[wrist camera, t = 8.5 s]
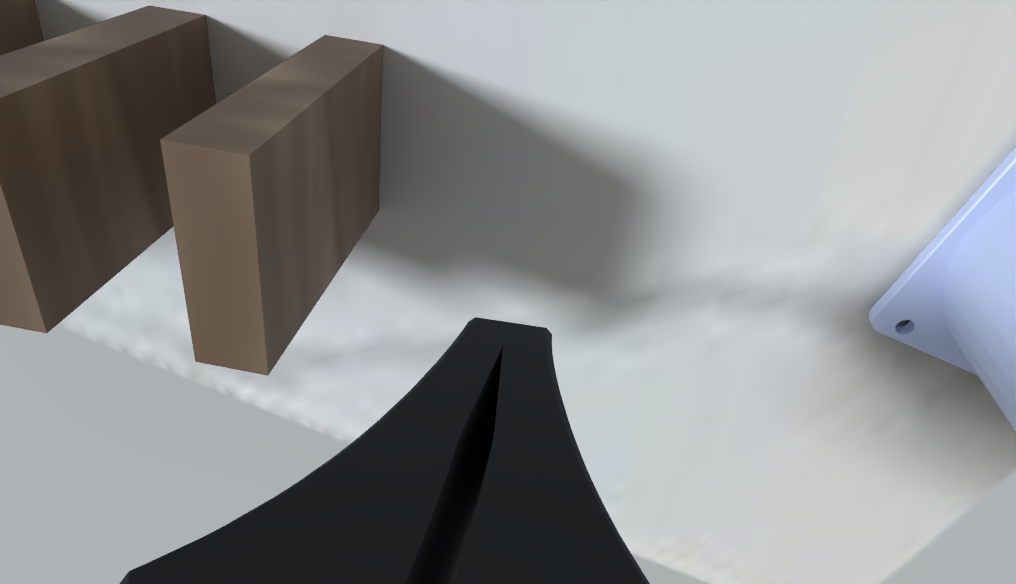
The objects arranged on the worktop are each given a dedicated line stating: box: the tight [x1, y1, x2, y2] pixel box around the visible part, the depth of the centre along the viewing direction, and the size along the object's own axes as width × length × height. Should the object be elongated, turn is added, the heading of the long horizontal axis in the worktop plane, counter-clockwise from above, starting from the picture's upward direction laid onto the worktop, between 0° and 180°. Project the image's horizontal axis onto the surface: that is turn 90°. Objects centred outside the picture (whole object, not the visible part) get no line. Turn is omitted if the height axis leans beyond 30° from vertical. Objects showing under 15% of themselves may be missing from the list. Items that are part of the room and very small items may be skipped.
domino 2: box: [160, 35, 383, 375], centre depth 17 cm, size 2×5×8 cm, turn 173°
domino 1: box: [0, 6, 215, 333], centre depth 17 cm, size 2×5×8 cm, turn 173°
